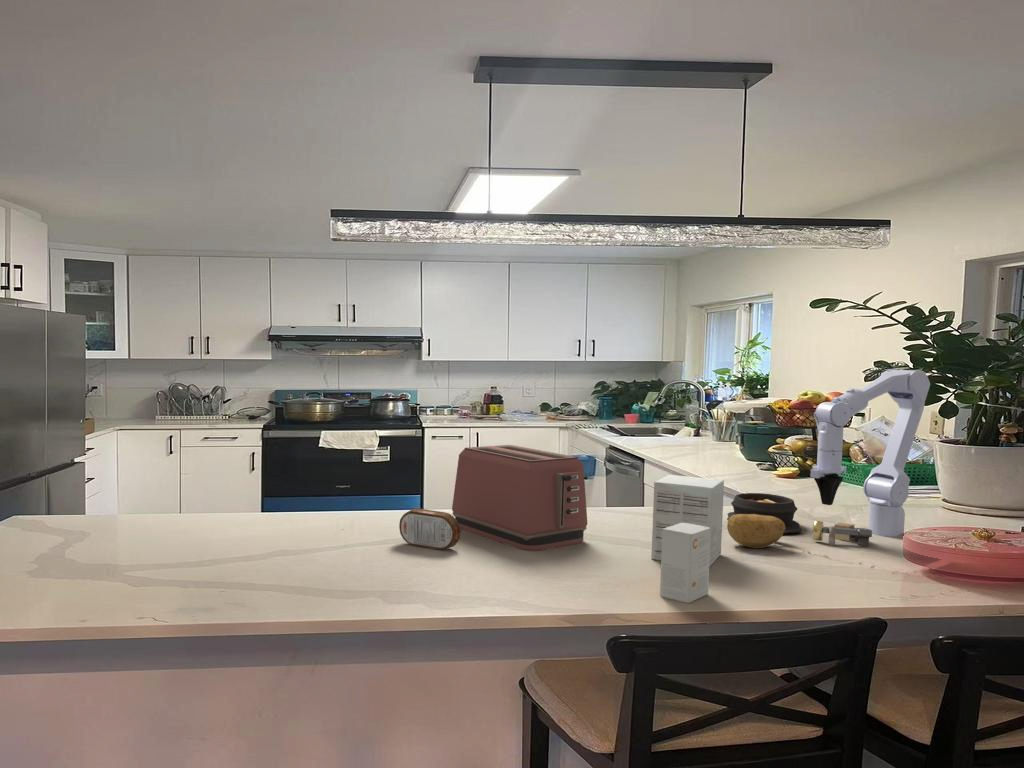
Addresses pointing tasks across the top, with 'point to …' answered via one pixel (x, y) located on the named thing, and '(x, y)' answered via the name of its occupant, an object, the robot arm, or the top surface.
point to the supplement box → (688, 508)
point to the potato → (755, 529)
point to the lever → (839, 531)
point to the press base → (861, 540)
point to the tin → (429, 529)
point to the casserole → (767, 508)
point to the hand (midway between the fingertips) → (827, 504)
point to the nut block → (842, 536)
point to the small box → (685, 562)
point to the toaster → (521, 496)
